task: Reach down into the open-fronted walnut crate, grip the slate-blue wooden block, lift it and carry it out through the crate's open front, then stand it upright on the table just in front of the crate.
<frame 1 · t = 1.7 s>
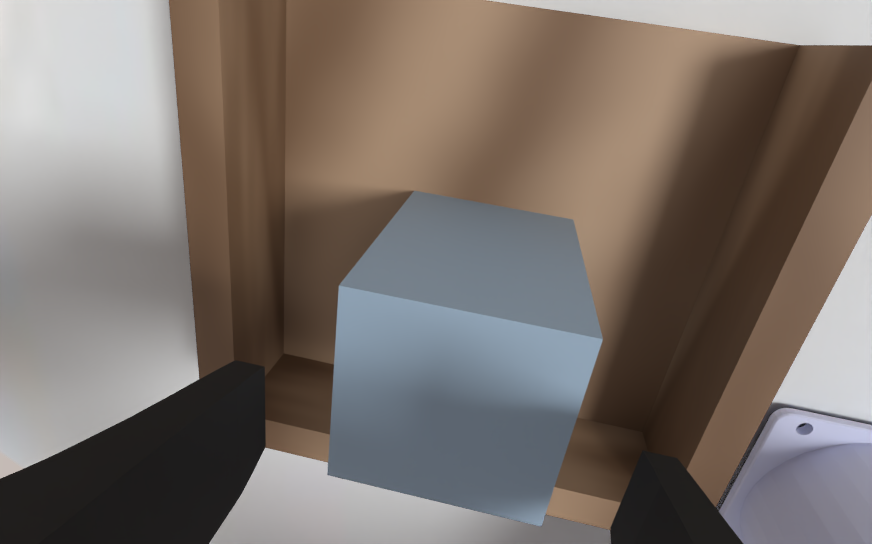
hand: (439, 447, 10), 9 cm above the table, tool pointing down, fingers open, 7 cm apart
walnut crate: (486, 238, 17), on the table
slate block: (478, 276, 17), point 1 cm above the table, touching walnut crate
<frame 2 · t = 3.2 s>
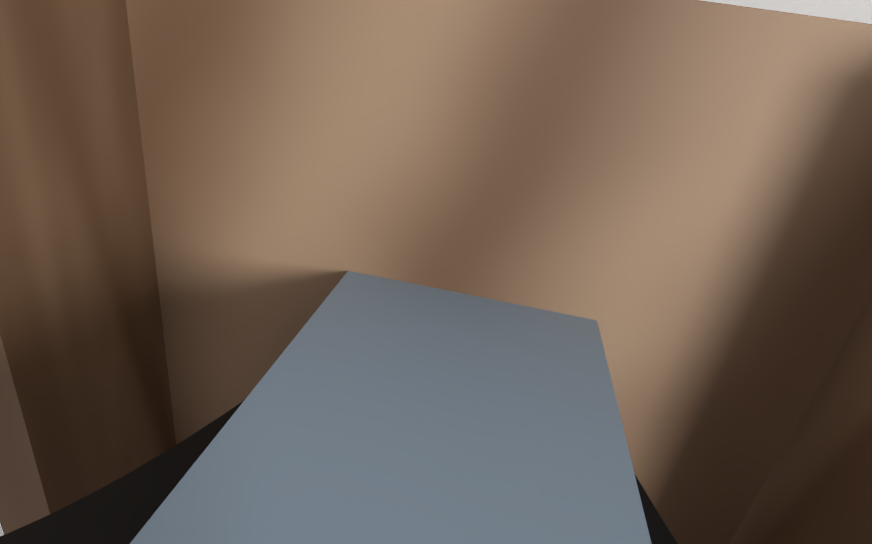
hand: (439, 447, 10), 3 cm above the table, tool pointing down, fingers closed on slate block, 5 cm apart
walnut crate: (463, 332, 12), on the table
slate block: (451, 394, 11), point 1 cm above the table, touching gripper, walnut crate
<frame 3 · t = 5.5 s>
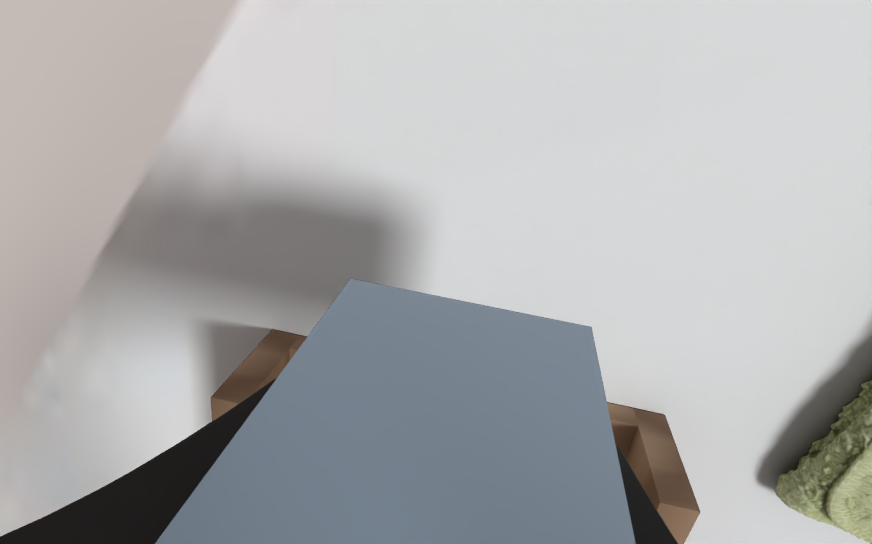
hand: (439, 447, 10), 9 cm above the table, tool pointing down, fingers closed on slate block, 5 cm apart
walnut crate: (437, 494, 23), on the table
slate block: (450, 397, 11), point 8 cm above the table, touching gripper
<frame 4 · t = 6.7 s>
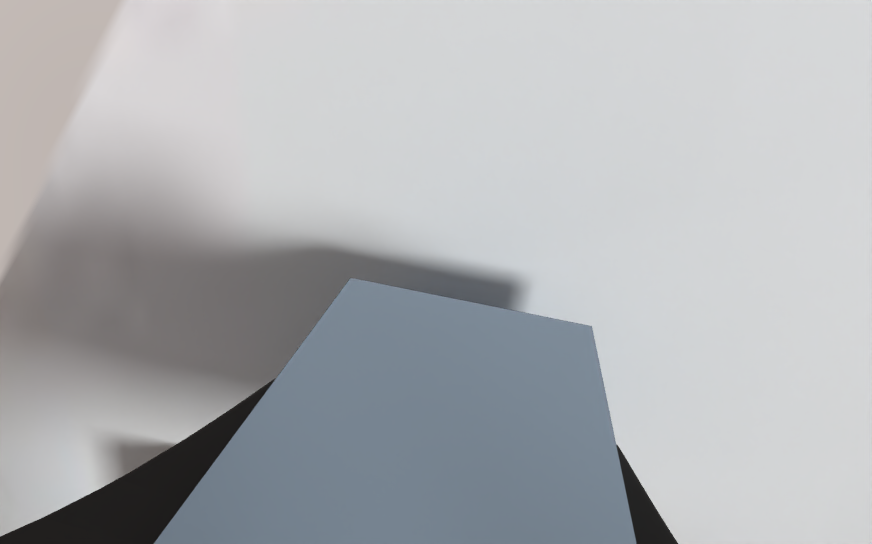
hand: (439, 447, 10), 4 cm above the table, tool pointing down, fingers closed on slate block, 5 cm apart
slate block: (450, 396, 11), point 2 cm above the table, touching gripper
when the fingers open (3 cm above the table, at t = 7.8 s): slate block drops 1 cm, on the table.
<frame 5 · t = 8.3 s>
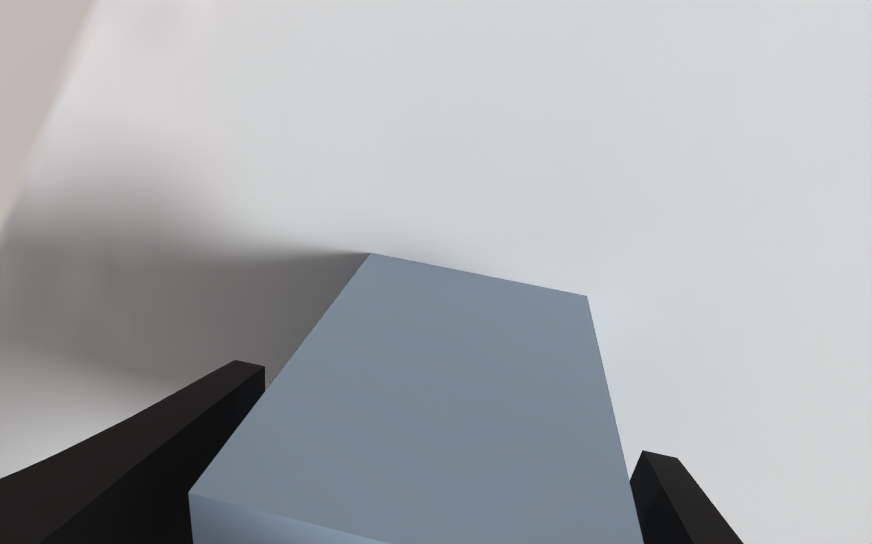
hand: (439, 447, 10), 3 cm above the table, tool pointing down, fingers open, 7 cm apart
slate block: (459, 363, 13), on the table
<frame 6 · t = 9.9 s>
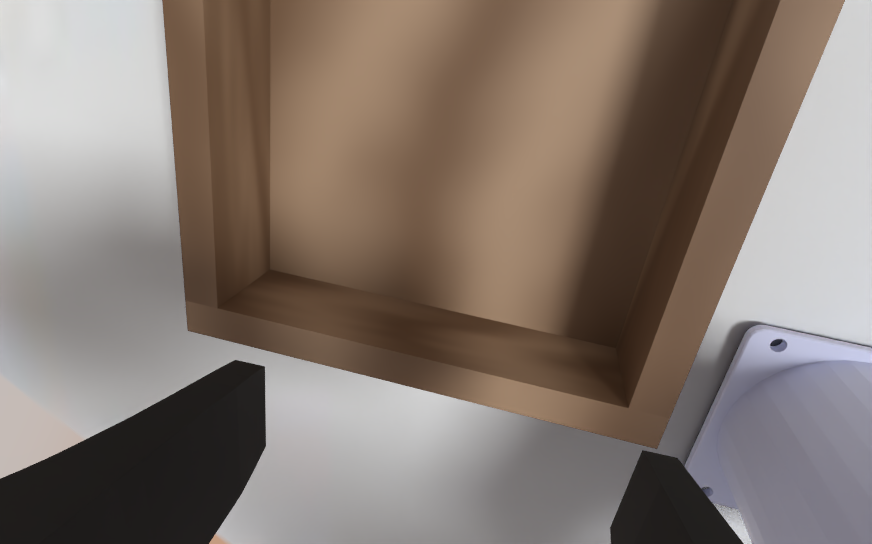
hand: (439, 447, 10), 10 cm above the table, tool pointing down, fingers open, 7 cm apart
walnut crate: (462, 150, 18), on the table
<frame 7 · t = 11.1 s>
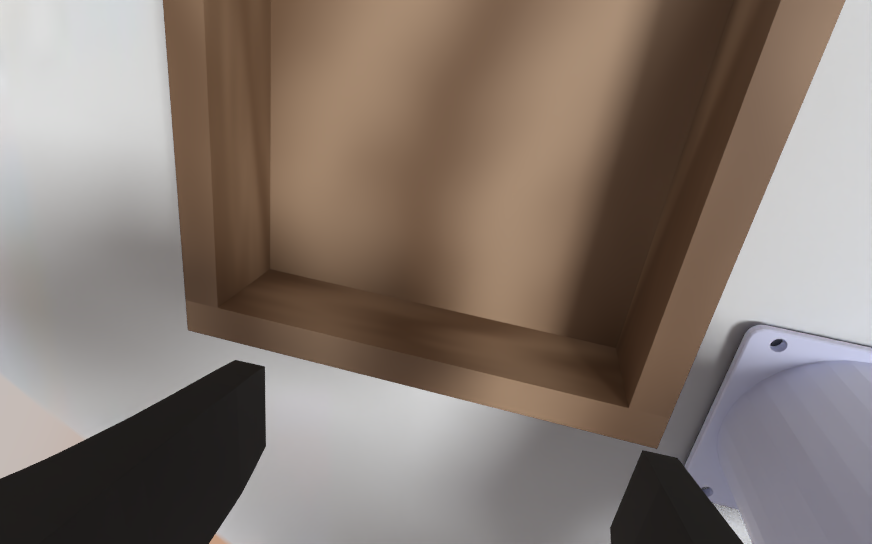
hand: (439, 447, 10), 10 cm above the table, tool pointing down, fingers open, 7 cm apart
walnut crate: (463, 150, 18), on the table
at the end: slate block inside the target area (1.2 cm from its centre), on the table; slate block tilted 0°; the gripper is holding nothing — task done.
